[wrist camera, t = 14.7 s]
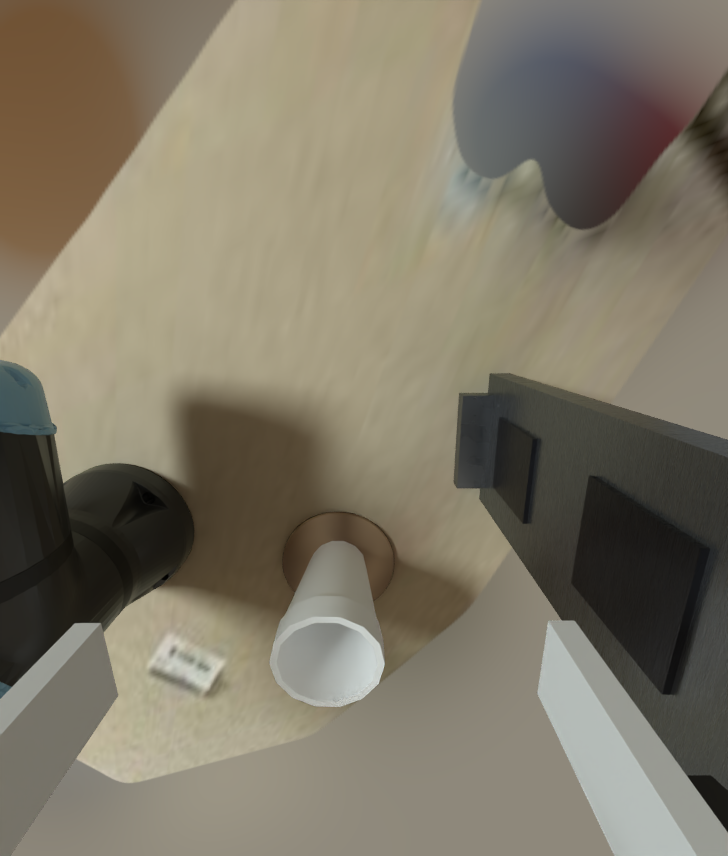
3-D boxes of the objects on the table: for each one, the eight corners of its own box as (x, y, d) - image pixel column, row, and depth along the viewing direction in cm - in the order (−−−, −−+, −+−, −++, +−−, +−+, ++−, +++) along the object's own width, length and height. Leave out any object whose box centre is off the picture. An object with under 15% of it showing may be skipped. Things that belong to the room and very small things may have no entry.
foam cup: (307, 520, 41) (282, 605, 28) (387, 538, 41) (396, 628, 29) (291, 589, 43) (261, 696, 31) (366, 605, 44) (367, 716, 31)
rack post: (452, 498, 41) (667, 910, 12) (460, 373, 37) (797, 529, 8) (497, 498, 41) (820, 910, 12) (509, 373, 37) (1018, 528, 8)
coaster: (287, 607, 45) (286, 611, 44) (280, 512, 41) (278, 514, 41) (393, 607, 45) (393, 610, 44) (394, 511, 41) (395, 513, 41)
